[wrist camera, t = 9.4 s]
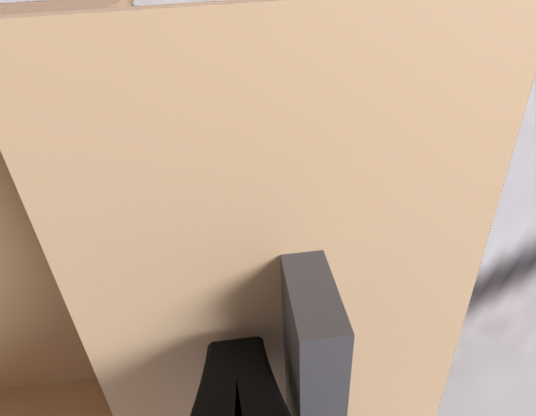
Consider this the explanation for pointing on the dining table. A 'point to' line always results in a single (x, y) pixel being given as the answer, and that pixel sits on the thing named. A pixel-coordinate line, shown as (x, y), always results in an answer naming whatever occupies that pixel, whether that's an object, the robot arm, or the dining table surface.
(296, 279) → the lid panel
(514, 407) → the dining table surface
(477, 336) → the dining table surface
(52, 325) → the carton
